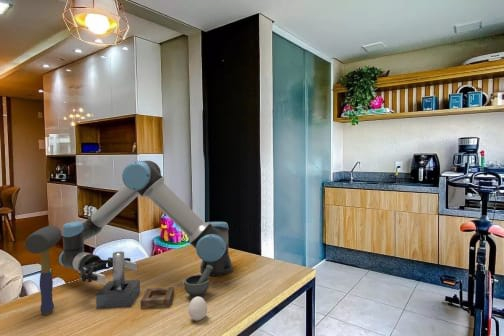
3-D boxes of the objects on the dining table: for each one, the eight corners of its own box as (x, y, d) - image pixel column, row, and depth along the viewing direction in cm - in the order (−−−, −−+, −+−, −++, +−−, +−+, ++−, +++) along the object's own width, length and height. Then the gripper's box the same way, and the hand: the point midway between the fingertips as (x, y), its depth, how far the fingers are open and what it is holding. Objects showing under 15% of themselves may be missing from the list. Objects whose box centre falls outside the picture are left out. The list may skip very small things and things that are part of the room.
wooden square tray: (174, 294, 117) (173, 287, 117) (169, 307, 107) (169, 299, 107) (147, 296, 116) (147, 288, 116) (140, 309, 106) (140, 300, 106)
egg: (207, 313, 102) (207, 292, 102) (207, 323, 96) (206, 300, 96) (189, 315, 102) (189, 293, 101) (188, 325, 96) (187, 302, 95)
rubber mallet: (51, 321, 99) (48, 232, 98) (26, 324, 97) (22, 233, 96) (66, 303, 111) (63, 223, 110) (43, 305, 109) (40, 224, 108)
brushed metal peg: (126, 292, 115) (125, 251, 115) (123, 296, 111) (122, 254, 111) (115, 292, 115) (114, 251, 114) (111, 297, 111) (110, 255, 110)
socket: (140, 291, 120) (139, 279, 119) (130, 307, 108) (130, 293, 107) (109, 293, 119) (108, 281, 118) (96, 308, 107) (95, 295, 106)
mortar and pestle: (185, 305, 109) (184, 272, 108) (183, 293, 118) (182, 263, 117) (215, 300, 112) (215, 268, 112) (211, 289, 121) (210, 260, 121)
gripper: (115, 262, 133) (147, 271, 123) (55, 283, 112) (89, 296, 101) (114, 246, 133) (147, 253, 122) (54, 264, 111) (88, 274, 101)
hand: (121, 272), depth 112 cm, fingers open, 13 cm apart
